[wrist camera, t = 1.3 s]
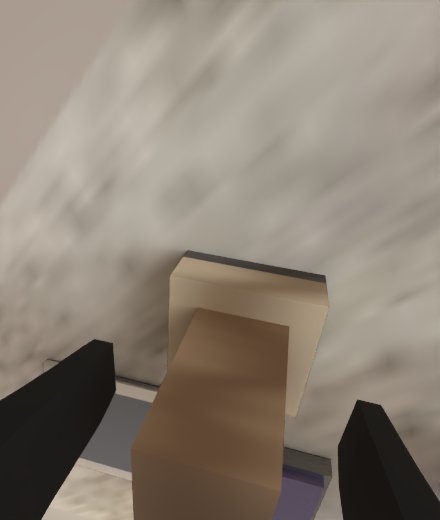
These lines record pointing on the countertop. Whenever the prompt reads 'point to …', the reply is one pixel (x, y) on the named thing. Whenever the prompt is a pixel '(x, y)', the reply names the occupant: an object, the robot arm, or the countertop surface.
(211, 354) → the stamp
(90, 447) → the print mark
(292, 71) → the countertop surface
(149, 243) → the countertop surface
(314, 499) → the ink pad
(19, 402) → the robot arm
